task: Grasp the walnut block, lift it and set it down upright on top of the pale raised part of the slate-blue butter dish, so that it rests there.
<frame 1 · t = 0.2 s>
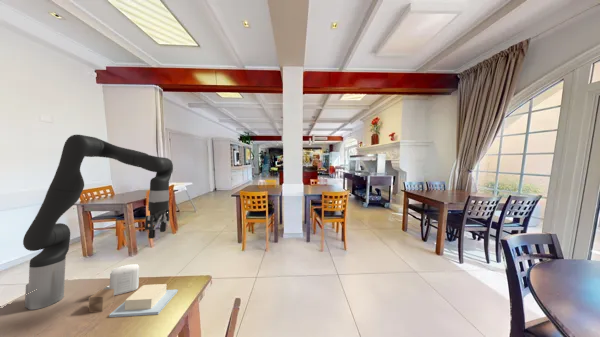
hand: (157, 234, 84), 28 cm above the table, fingers open, 8 cm apart
walnut block: (101, 307, 76), on the table
butter dish: (146, 303, 79), on the table
photo printer: (124, 291, 86), on the table
key chain: (99, 295, 84), on the table
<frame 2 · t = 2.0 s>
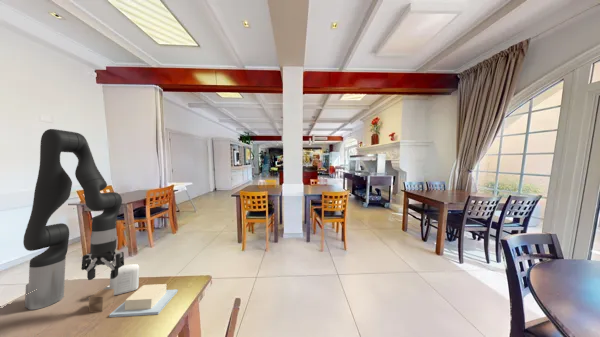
hand: (102, 278, 76), 12 cm above the table, fingers open, 8 cm apart
nothing on the table moved.
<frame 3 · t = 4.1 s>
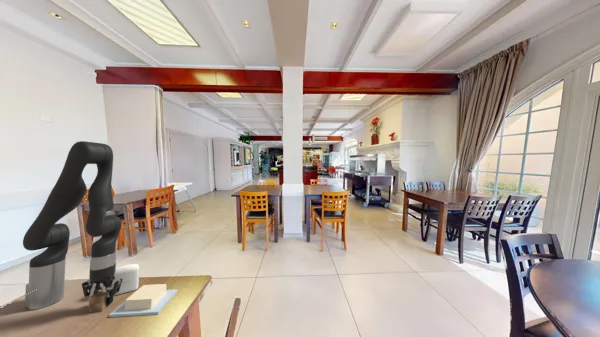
hand: (101, 304, 76), 1 cm above the table, fingers closed on walnut block, 5 cm apart
walnut block: (101, 307, 76), on the table, touching gripper
everything else where it was.
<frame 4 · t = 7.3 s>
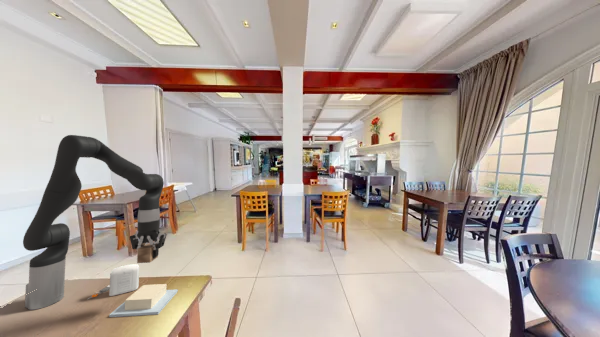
hand: (148, 257, 79), 20 cm above the table, fingers closed on walnut block, 5 cm apart
walnut block: (147, 259, 79), point 19 cm above the table, touching gripper
everything else where it was.
when the fingers open (7 cm above the table, at t = 10.6 s): walnut block stays where it is, resting on butter dish.
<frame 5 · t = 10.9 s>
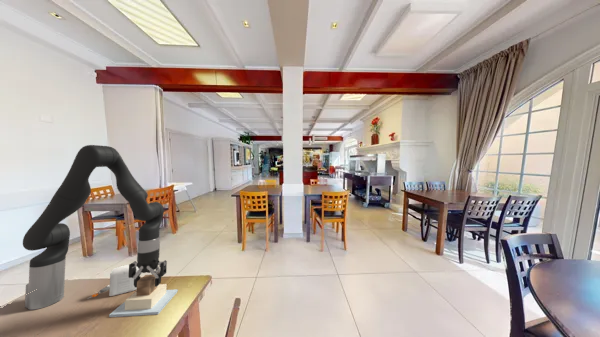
hand: (147, 285, 79), 7 cm above the table, fingers open, 7 cm apart
walnut block: (147, 291, 79), point 5 cm above the table, touching butter dish
everything else where it was.
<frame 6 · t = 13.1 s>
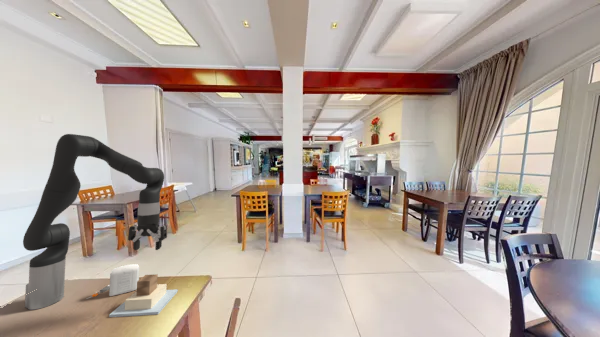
hand: (147, 249, 80), 23 cm above the table, fingers open, 8 cm apart
nothing on the table moved.
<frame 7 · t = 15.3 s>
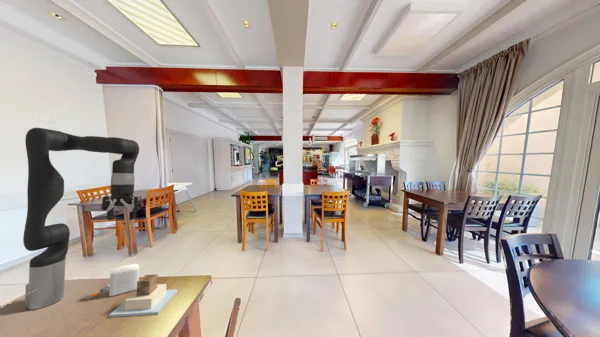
hand: (121, 219, 80), 36 cm above the table, fingers open, 8 cm apart
at the end: walnut block 0.0 cm off-centre on the butter dish, point 5.0 cm above the butter dish's base; walnut block tilted 0°; the gripper is holding nothing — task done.
